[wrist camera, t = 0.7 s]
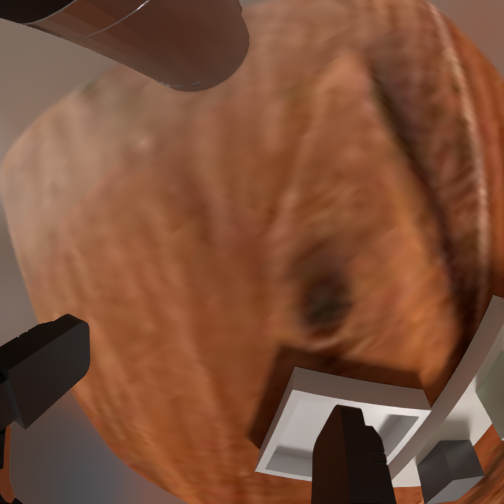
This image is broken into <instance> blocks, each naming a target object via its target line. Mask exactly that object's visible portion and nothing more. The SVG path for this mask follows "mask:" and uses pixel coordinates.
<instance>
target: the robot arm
mask: <svg viewBox="0 0 504 504" xmlns="http://www.w3.org/2000/svg"><path fill="white" fill-rule="evenodd" d="M241 11H242V7H241V5H240V2H239V0H0V18H3V19H6V20H10V21H13V22H16V23H20V24H22V25H26V26H29V27H32V28H35V29H38V30H41V31H43V32H46V33H49V34H52V35H55V36H57V37H60V38H63V39H66V40H68V41H71V42H73V43H76V44H78V45H81V46H83V47H86V48H88V49H90V50H93V51H95V52H97V53H100V54H102V55H104V56H106V57H109V58H111V59H113V60H115V61H117V62H120V63H122V64H124V65H126V66H128V67H130V68H132V69H134V70H136V71H138V72H140V73H142V74H144V75H146V76H148V77H150V78H152V79H154V80H156V81H157V82H159V83H161V84H163V85H166V86H168V87H171V88H173V89H175V90H180V91H185V92H186V91H200V90H205V89H208V88H210V87H213V86H216V85H218V84H219V83H221V82H223V81H224V80H226V79H227V78H228V77H229V76H231V75H232V74H233V73H234V72H235V71H236V70H237V68H238V67H239V66H240V65H241V63H242V62H243V60H244V58H245V56H246V54H247V50H248V46H249V34H248V30H247V27H246V25H245V22H244V20H243V18H242V16H241ZM89 365H90V339H89V325H88V323H87V322H85V321H83V320H81V319H78V318H76V317H74V316H72V315H70V314H66V315H64V316H62V317H60V318H58V319H57V320H55V321H51V322H47V323H42V324H39V325H37V326H35V327H33V328H32V329H30V330H28V332H25V333H23V334H21V335H20V336H19V338H18V337H16V338H14V339H13V340H11V341H9V342H7V343H6V344H4V345H2V346H1V347H0V504H23V503H21V502H20V501H19V500H18V499H16V498H15V496H14V491H13V488H12V486H11V483H10V478H9V454H10V437H11V428H10V424H11V423H12V422H13V421H16V422H17V423H18V424H19V425H21V426H22V427H23V428H24V429H27V428H28V427H29V426H30V425H31V424H32V423H33V422H34V421H35V420H36V419H37V418H39V417H40V416H41V415H42V414H43V413H44V412H45V411H46V410H47V409H48V408H50V406H52V405H53V404H54V403H55V402H56V401H57V400H58V399H59V398H61V397H62V396H63V395H64V394H65V393H66V392H67V391H68V390H69V389H70V388H72V387H73V386H74V385H75V384H76V383H77V382H78V381H79V380H81V379H82V378H83V377H84V376H85V374H86V373H87V371H88V369H89ZM384 452H385V450H384V446H383V442H382V438H381V437H380V435H379V434H378V433H377V431H376V430H375V429H374V427H373V426H368V425H365V420H364V416H363V412H362V409H361V408H357V407H350V406H345V405H339V404H337V405H336V406H335V407H334V408H333V410H332V412H331V413H330V415H329V417H328V419H327V421H326V423H325V425H324V426H323V428H322V430H321V432H320V433H319V435H318V437H317V439H316V442H315V444H314V448H313V454H312V497H311V504H396V499H395V494H394V490H393V485H392V480H391V476H390V471H389V467H388V465H387V458H386V454H384Z"/></svg>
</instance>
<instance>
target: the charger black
mask: <svg viewBox="0 0 504 504" xmlns="http://www.w3.org/2000/svg"><path fill="white" fill-rule="evenodd" d="M417 471H418V475H419V479H420V484H421V488H422V493H423V498H424V503H425V504H434V503H442V502H448V501H454V500H458V499H459V498H460V497H461V496H462V495H464V494H465V493H466V492H467V491H468V490H469V489H471V488H472V487H473V486H474V485H475V484H476V483H477V482H478V481H479V480H480V479H481V478H483V477H484V476H485V475H484V473H483V470H482V468H481V465H480V462H479V460H478V457H477V455H476V452H475V450H474V448H473V445H472V443H471V441H470V440H443V441H439V442H438V443H437V444H436V446H435V447H434V448H433V449H432V450H431V451H430V452H429V454H428V455H427V456H426V457H425V458H424V459H423V460H422V461H421V462H420V463H419V464H418V465H417Z"/></svg>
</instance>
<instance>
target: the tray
mask: <svg viewBox="0 0 504 504" xmlns="http://www.w3.org/2000/svg"><path fill="white" fill-rule="evenodd" d="M337 404H339V405H345V406H350V407H357V408H361V409H362V412H363V416H364V420H365V425H368V426H373V427H374V429H375V430H376V431H377V433H378V434H379V435H380V437H381V438H382V442H383V446H384V450H385V452H384V454H386V458H387V465H388V464H389V463H390V462H391V461H392V460H393V459H394V458H395V456H396V455H397V454H398V453H399V452H400V451H401V449H402V448H403V447H404V446H405V445H406V443H407V442H408V441H409V440H410V439H411V437H412V436H413V435H414V434H415V432H416V431H417V430H418V428H419V427H420V426H421V424H422V423H423V422H424V420H425V419H426V418H427V416H428V415H429V414H430V412H431V411H432V410H431V407H430V405H429V402H428V400H427V398H426V395H425V393H424V390H423V389H415V388H408V387H400V386H393V385H387V384H380V383H374V382H368V381H363V380H357V379H352V378H346V377H341V376H336V375H331V374H326V373H322V372H317V371H312V370H308V369H304V368H299V367H294V370H293V372H292V375H291V377H290V380H289V382H288V385H287V387H286V390H285V392H284V395H283V397H282V400H281V402H280V404H279V407H278V409H277V412H276V414H275V416H274V419H273V421H272V423H271V426H270V428H269V430H268V432H267V435H266V437H265V439H264V441H263V444H262V446H261V448H260V450H259V455H258V460H257V464H256V469H255V471H257V472H262V473H267V474H272V475H277V476H282V477H288V478H294V479H300V480H307V481H312V454H313V448H314V444H315V442H316V439H317V437H318V435H319V433H320V432H321V430H322V428H323V426H324V425H325V423H326V421H327V419H328V417H329V415H330V413H331V412H332V410H333V408H334V407H335V406H336V405H337Z"/></svg>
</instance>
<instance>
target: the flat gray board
mask: <svg viewBox="0 0 504 504" xmlns="http://www.w3.org/2000/svg"><path fill="white" fill-rule="evenodd" d="M501 351H504V298H501V297H498V296H495V295H493V296H492V299H491V301H490V304H489V306H488V308H487V310H486V313H485V315H484V317H483V319H482V321H481V323H480V325H479V327H478V330H477V332H476V334H475V336H474V337H473V339H472V341H471V343H470V345H469V347H468V349H467V351H466V353H465V354H464V356H463V358H462V360H461V362H460V363H459V365H458V367H457V368H456V370H455V372H454V373H453V375H452V377H451V378H450V380H449V382H448V383H447V385H446V386H445V388H444V390H443V391H442V393H441V394H440V396H439V397H438V399H437V400H436V402H435V403H434V404H433V406H432V407H431V410H432V411H431V412H430V414H429V415H428V416H427V418H426V419H425V420H424V422H423V423H422V424H421V426H420V427H419V428H418V430H417V431H416V432H415V434H414V435H413V436H412V437H411V439H410V440H409V441H408V442H407V443H406V445H405V446H404V447H403V448H402V449H401V451H400V452H399V453H398V454H397V455H396V456H395V458H394V459H393V460H392V461H391V462H390V463H389V464H388V467H389V471H390V476H391V480H392V485H393V487H410V486H421V484H420V479H419V475H418V471H417V465H418V464H419V463H420V462H421V461H422V460H423V459H424V458H425V457H426V456H427V455H428V454H429V452H430V451H431V450H432V449H433V448H434V447H435V446H436V444H437V443H438V442H439V441H443V440H470V441H471V443H472V445H473V446H474V444H475V443H476V442H477V441H478V440H479V439H480V437H481V436H482V435H483V434H484V433H485V431H486V430H487V429H488V428H489V426H490V425H491V424H492V421H491V420H490V418H489V416H488V414H487V412H486V410H485V409H484V407H483V405H482V403H481V402H480V400H479V398H478V396H477V395H476V392H477V390H478V389H479V387H480V386H481V384H482V383H483V381H484V379H485V378H486V376H487V375H488V373H489V371H490V370H491V368H492V366H493V365H494V363H495V361H496V359H497V358H498V356H499V354H500V352H501Z"/></svg>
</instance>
